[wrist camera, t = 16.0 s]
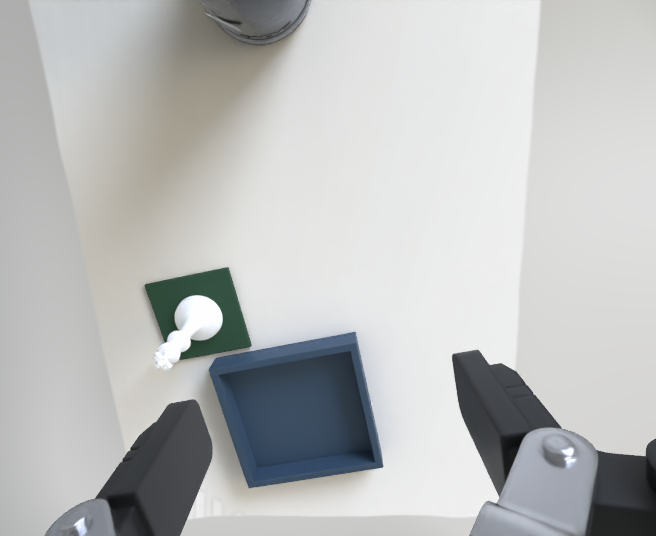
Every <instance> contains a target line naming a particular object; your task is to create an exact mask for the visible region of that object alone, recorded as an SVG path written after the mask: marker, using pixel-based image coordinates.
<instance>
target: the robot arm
mask: <svg viewBox="0 0 656 536" xmlns="http://www.w3.org/2000/svg"><path fill="white" fill-rule="evenodd" d="M198 1H199V2H200V3H201V4H202V5H203V6H204V7H205V8H206V10H207V11H208V12H209V13H210V14H211V15H210V14H208V13H206V12H204V13H205V14H206V15H207V16H209V17H211V18H213V19H214V20H215V21H216V22H217V23H218V24H219V25H220V26H221V27H222V28H223V29H224V30H225V31H226V32H227V33H228V34H230V35H231V36H233V37H234V38H236V39H238V40H240V41H243V42H246V43H250V44H269V43H273V42H276V41H279V40H281V39H283V38H285V37H286V36H288V35H289V34H290V33H292V32H293V31H294V30H295V29H296V28H297V27H298V26H299V24H300V23H301V22H302V20H303V18H304V17H305V15H306V13H307V11H308V8H309V6H310V2H311V0H198ZM452 362H453V369H454V375H455V382H456V389H457V396H458V402H459V406H460V410H461V414H462V417H463V419H464V422H465V424H466V426H467V428H468V430H469V433H470V435H471V437H472V439H473V441H474V443H475V446H476V448H477V450H478V452H479V454H480V456H481V458H482V461H483V463H484V465H485V467H486V469H487V471H488V474H489V476H490V478H491V480H492V482H493V484H494V486H495V489H496V491H497V493H498V495H499V500H498V502H497V503H496V504H495V503H493V502H490V501H487V502H485V503H484V505H483V506H482V508H481V510H480V512H479V514H478V517H477V519H476V521H475V524H474V526H473V528H472V530H471V533H470V535H469V536H656V439H654V440H653V441H651V442H650V443H649V444H648V445H647V448H646V456H635V455H623V454H613V453H605V452H601V451H597V450H596V449H595V448H594V446H593V445H592V444H591V443H590V442H589V441H588V440H586V439H585V438H583V437H582V436H580V435H578V434H576V433H574V432H571V431H568V430H565V429H562V428H561V427H560V425H559V424H558V423H557V422H556V420H555V419H554V418H553V417H552V415H551V414H550V413H549V412H548V410H547V409H546V408H545V407H544V405H543V404H542V403H541V402H540V400H539V399H538V398H537V397H536V396H535V395H534V394H533V392H532V391H531V389H530V388H529V387H528V386H527V385H526V384H525V382H524V381H523V379H522V378H521V377H520V376H519V374H518V373H517V372H516V371H514V370H512V369H511V368H509V367H507V366H505V365H503V364H501V363H500V364H494V365H489V364H488V363H487V361H486V360H485V358H484V357H483V356H482V354H481V353H480V351H479V350H473V351H468V352H462V353H456V354H453V355H452ZM130 449H131V450H130V451H128V453H127V454H126V455H125V457H124V458H123V462H121V463H120V464H119V465H118V467H117V468H116V470H115V471H114V472H113V474H112V475H111V477H110V478H109V480H108V481H107V482H106V484H105V485H104V487H103V488H102V489H101V491H100V492H99V494H98V495H97V496H96V498H95V499H91V500H88V501H85V502H83V503H80V504H79V505H77V506H75V507H73V508H71V509H70V510H68V511H67V512H66V513H64V514H63V515H62V516H61V517H59V518H58V519H57V520H56V521H55V522H54V523H53V524H52V526H51V527H50V528H49V529H48V531H47V532H46V534H45V536H180V534H181V532H182V529H183V527H184V525H185V522H186V520H187V518H188V515H189V513H190V510H191V508H192V506H193V503H194V501H195V498H196V496H197V494H198V491H199V489H200V486H201V484H202V482H203V479H204V477H205V474H206V472H207V470H208V467H209V465H210V462H211V459H212V441H211V438H210V435H209V432H208V430H207V427H206V424H205V421H204V418H203V415H202V413H201V410H200V407H199V404H198V403H197V401H195V400H187V401H182V402H176V403H171V404H169V405H168V406H167V407H166V409H165V410H164V412H163V413H162V415H161V416H160V418H159V419H158V420H157V422H155V423H153V424H152V425H151V426H150V427H149V428H147V429H146V430H145V431H144V432H143V433H142V434H141V435H140V436H139V437H138V438H137V440H136V441H135V443H134V444H133V446H132V447H131V448H130Z"/></svg>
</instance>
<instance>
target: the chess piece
mask: <svg viewBox="0 0 656 536" xmlns="http://www.w3.org/2000/svg"><path fill="white" fill-rule="evenodd" d="M222 322H223V317H222V312H221V310H220V308H219V307H218V305H217V304H216V303H215V302H214V301H213V300H211V299H209V298H207V297H204V296H200V295H194V296H190V297H187V298H185V299H184V300H182V301H181V302H180V304H179V305H178V307H177V309H176V311H175V323H176V326H177V328H178V329H179V331H173V332H171V333H170V334H169V336H168V339H167V342H166V343H164V344H162V345H160V346H159V347H158V349H157V353H155V354H154V355H153V356H152V358H153V359H155V360H156V361H157V363H156V365H155V366H154V367H155V368H157V369H160V368H161V367H163V368H164V369H165V370H166V371H167V370H169V369H170V368H171V367H172V364H175V363H176V362H177V361H178V360H179V358H180V355H181V352H184V351H186V350H187V349H188V348H189V347H190V344H191V341H190V339H193V340H199V341H201V340H207V339H209V338H211V337H213V336H214V335H215V334H216V333H217V332H218V331H219V330H220V328H221V326H222Z"/></svg>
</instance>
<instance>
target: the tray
mask: <svg viewBox="0 0 656 536" xmlns="http://www.w3.org/2000/svg"><path fill="white" fill-rule="evenodd" d="M209 372H210V375H211V378H212V381H213V384H214V387H215V390H216V393H217V396H218V399H219V402H220V405H221V408H222V411H223V414H224V417H225V420H226V422H227V425H228V428H229V431H230V434H231V437H232V440H233V443H234V446H235V449H236V452H237V455H238V458H239V461H240V464H241V467H242V470H243V473H244V476H245V479H246V482H247V484H248V487H249V488H254V487H260V486H267V485H273V484H280V483H286V482H293V481H299V480H306V479H312V478H319V477H325V476H331V475H338V474H344V473H351V472H357V471H364V470H370V469H377V468H383V461H382V454H381V448H380V443H379V439H378V434H377V430H376V425H375V420H374V416H373V411H372V407H371V402H370V397H369V393H368V388H367V383H366V379H365V374H364V370H363V365H362V360H361V356H360V351H359V346H358V342H357V337H356V333H355V332H353V333H348V334H343V335H337V336H332V337H326V338H321V339H316V340H310V341H305V342H300V343H294V344H289V345H283V346H278V347H273V348H267V349H262V350H256V351H251V352H246V353H240V354H235V355H230V356H224V357H219V358H216V359H215V360H214V362H213V364H212V365H211V367H210V369H209Z"/></svg>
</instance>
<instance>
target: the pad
mask: <svg viewBox="0 0 656 536" xmlns="http://www.w3.org/2000/svg"><path fill="white" fill-rule="evenodd" d="M145 288H146V291H147V294H148V297H149V299H150V302H151V305H152V308H153V310H154V313H155V316H156V319H157V321H158V324H159V327H160V330H161V332H162V335H163V338H164V341H165V343H166V342H167V339H168V336H169V334H170V333H171V332H173V331H179V329H178V328H177V326H176V323H175V311H176V309H177V307H178V305H179V304H180V302H181V301H182V300H184V299H185V298H187V297H190V296H194V295H200V296H204V297H207V298H209V299H211V300H213V301H214V302H215V303H216V304H217V305H218V307H219V308H220V310H221V312H222V317H223V322H222V326H221V328H220V330H219V331H218V332H217V333H216V334H215V335H214V336H213V337H211V338H209V339H207V340H201V341H199V340H193V339H190V341H191V344H190V347H189V348H188V349H187V350H186V351H184V352H181V355H180V358H179V360H183V359H188V358H194V357H199V356H204V355H210V354H215V353H220V352H226V351H231V350H236V349H242V348H247V347H251V342H250V338H249V335H248V332H247V328H246V325H245V322H244V318H243V315H242V312H241V308H240V305H239V302H238V298H237V295H236V291H235V288H234V285H233V281H232V278H231V275H230V271H229V268H228V267H227V268H222V269H218V270H213V271H208V272H203V273H198V274H193V275H188V276H184V277H179V278H174V279H169V280H164V281H159V282H154V283H150V284H146V285H145Z"/></svg>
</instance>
